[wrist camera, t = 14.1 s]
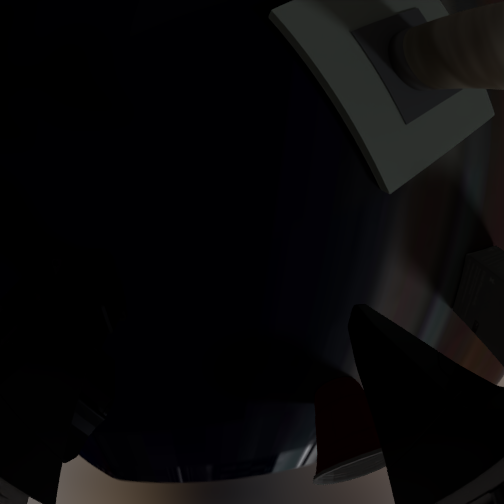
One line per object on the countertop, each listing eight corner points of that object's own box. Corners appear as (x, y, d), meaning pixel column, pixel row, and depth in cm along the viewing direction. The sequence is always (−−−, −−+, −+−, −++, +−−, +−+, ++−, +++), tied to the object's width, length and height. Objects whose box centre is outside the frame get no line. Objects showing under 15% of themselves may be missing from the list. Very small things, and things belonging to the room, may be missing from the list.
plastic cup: (288, 419, 33) (304, 495, 22) (300, 368, 28) (327, 465, 18) (360, 407, 34) (387, 474, 23) (386, 357, 29) (428, 434, 19)
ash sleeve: (377, 60, 15) (493, 32, 5) (401, 20, 13) (503, -15, 3) (425, 103, 16) (540, 114, 6) (445, 62, 15) (549, 58, 5)
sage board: (380, 189, 21) (391, 194, 19) (268, 17, 15) (271, 8, 13) (484, 113, 18) (496, 114, 16) (407, -28, 12) (416, -33, 10)
